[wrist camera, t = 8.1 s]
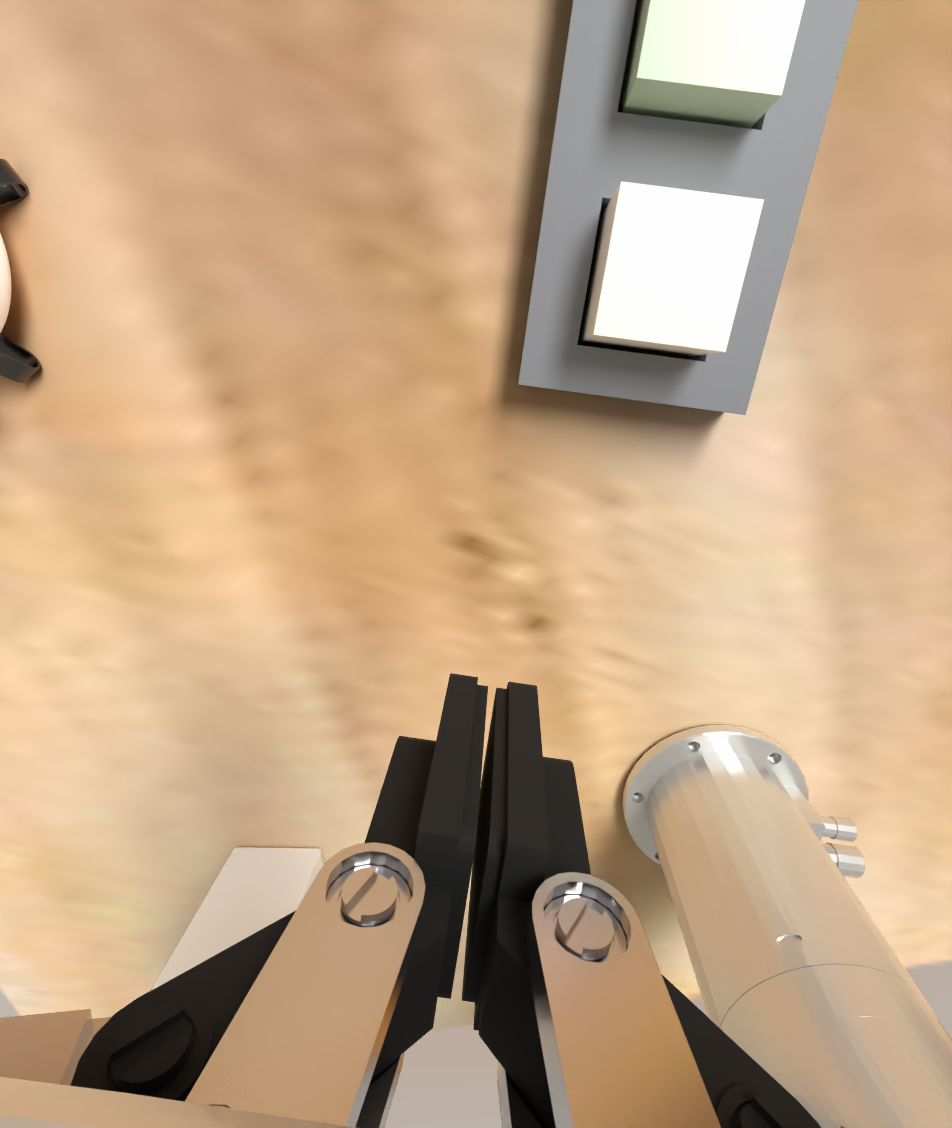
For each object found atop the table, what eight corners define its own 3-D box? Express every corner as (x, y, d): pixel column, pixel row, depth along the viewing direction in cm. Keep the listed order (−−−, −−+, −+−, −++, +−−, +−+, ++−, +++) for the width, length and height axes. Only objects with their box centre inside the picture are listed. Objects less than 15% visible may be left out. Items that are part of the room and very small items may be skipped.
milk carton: (234, 845, 45) (49, 1159, 27) (321, 846, 44) (192, 1167, 26) (249, 912, 47) (88, 1243, 29) (333, 914, 47) (221, 1252, 29)
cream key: (721, 229, 28) (763, 199, 23) (692, 355, 30) (725, 351, 25) (602, 214, 28) (621, 181, 24) (580, 341, 30) (593, 334, 25)
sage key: (771, -10, 26) (829, -97, 21) (735, 143, 28) (781, 95, 23) (642, -26, 26) (670, -116, 21) (615, 128, 28) (636, 77, 23)
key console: (934, -396, 22) (996, -508, 19) (724, 411, 32) (745, 415, 30) (634, -428, 23) (651, -545, 20) (517, 383, 33) (518, 384, 30)
